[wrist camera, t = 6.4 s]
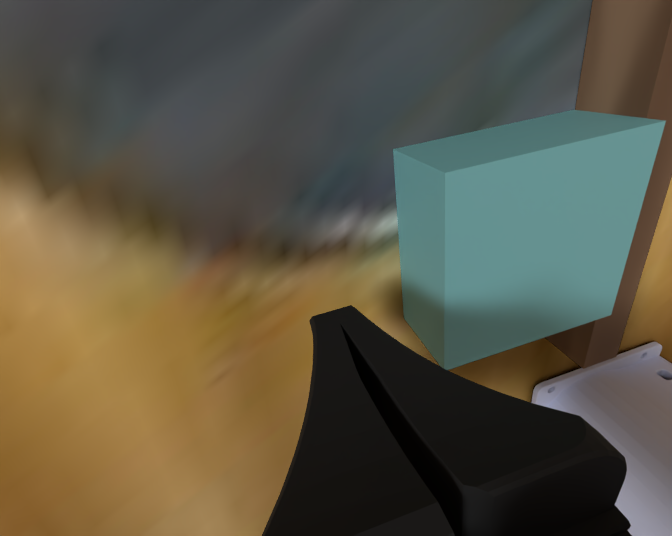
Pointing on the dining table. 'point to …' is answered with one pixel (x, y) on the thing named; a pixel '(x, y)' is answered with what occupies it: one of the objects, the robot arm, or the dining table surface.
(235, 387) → the dining table surface
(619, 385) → the robot arm
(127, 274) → the dining table surface
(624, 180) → the teal block
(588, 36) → the walnut board
